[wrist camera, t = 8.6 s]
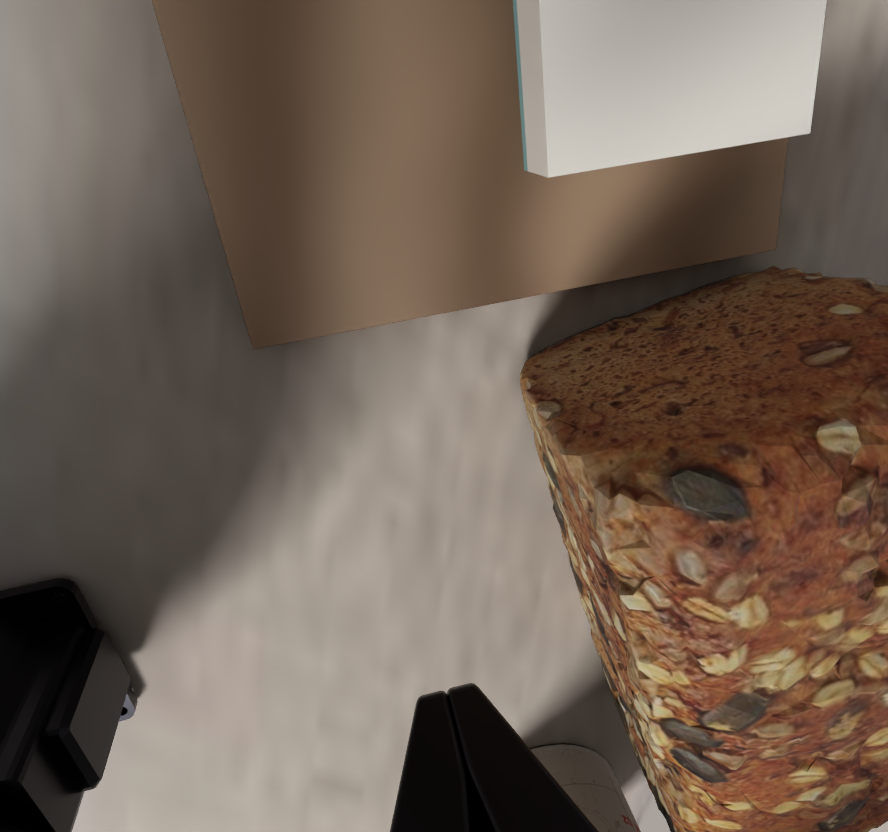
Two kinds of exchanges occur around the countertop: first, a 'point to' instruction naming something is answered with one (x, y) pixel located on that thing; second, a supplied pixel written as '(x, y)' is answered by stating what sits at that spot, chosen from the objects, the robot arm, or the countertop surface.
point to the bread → (734, 541)
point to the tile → (661, 77)
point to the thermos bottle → (589, 785)
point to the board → (420, 168)
